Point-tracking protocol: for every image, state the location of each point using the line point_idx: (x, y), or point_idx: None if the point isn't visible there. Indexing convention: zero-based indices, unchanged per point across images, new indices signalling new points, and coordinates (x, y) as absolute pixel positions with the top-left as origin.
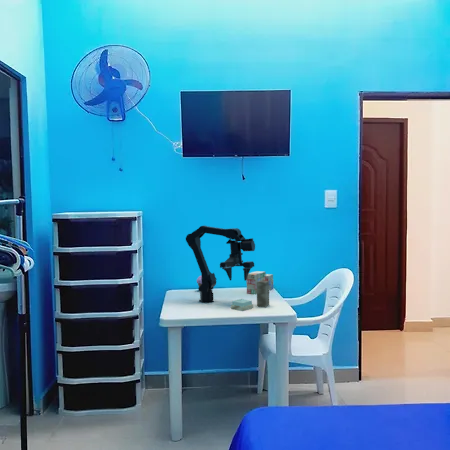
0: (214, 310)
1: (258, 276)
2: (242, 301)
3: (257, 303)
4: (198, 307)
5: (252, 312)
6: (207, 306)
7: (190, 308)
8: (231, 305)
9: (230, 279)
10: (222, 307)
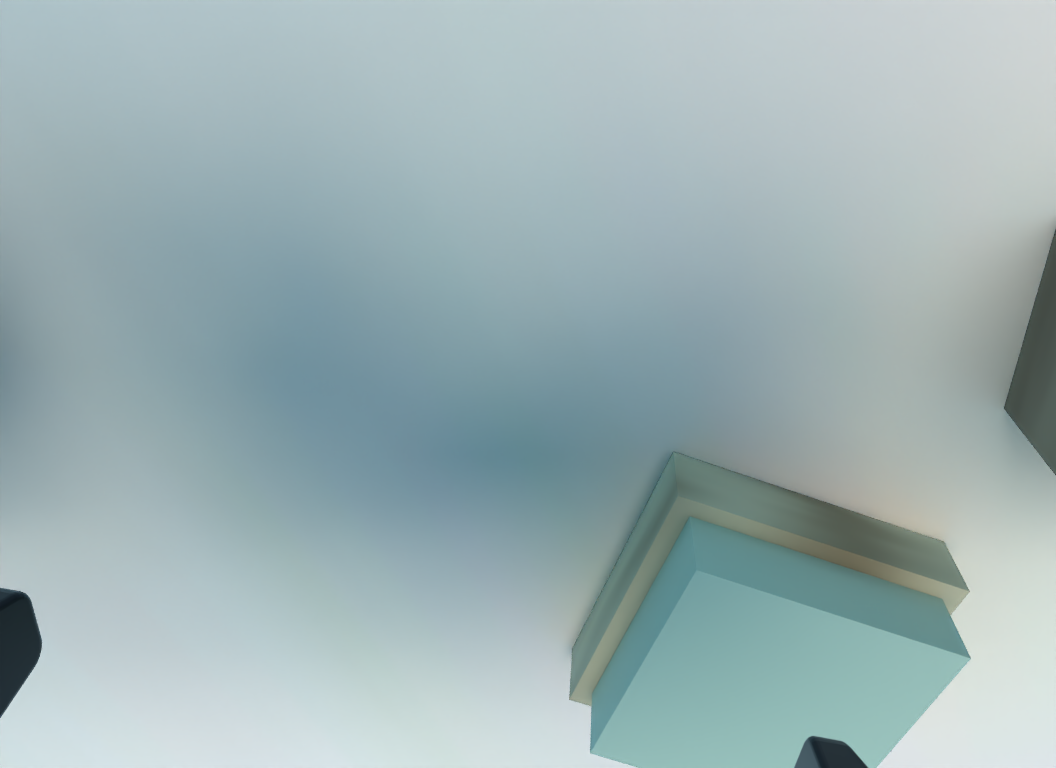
0: (388, 764)
1: None
2: (789, 739)
3: (1044, 445)
4: (70, 681)
5: (983, 753)
6: (137, 607)
7: (24, 742)
8: (576, 695)
9: (15, 677)
10: (393, 608)
